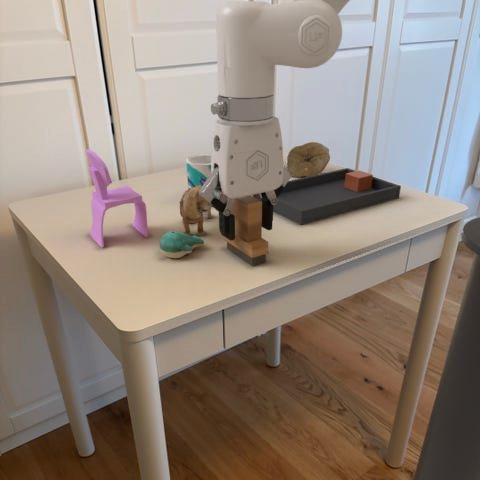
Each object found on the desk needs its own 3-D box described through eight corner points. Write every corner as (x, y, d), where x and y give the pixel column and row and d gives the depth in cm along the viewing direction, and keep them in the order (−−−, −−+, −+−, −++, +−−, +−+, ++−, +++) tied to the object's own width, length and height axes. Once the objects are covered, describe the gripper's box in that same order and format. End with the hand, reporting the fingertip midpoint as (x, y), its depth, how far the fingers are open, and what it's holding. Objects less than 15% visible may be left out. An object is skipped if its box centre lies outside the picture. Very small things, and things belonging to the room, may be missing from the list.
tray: (346, 179, 112) (347, 167, 111) (399, 198, 101) (401, 185, 100) (253, 201, 101) (253, 188, 99) (300, 225, 90) (301, 211, 88)
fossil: (285, 145, 116) (328, 136, 113) (289, 155, 120) (330, 148, 117) (286, 178, 113) (330, 171, 111) (290, 188, 117) (332, 181, 115)
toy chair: (153, 238, 85) (143, 149, 77) (104, 250, 81) (87, 157, 73) (135, 223, 91) (123, 139, 83) (88, 233, 87) (71, 146, 79)
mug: (180, 199, 102) (177, 158, 97) (223, 186, 109) (222, 147, 104) (206, 209, 97) (204, 166, 92) (250, 195, 104) (250, 154, 99)
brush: (268, 262, 77) (269, 203, 72) (252, 267, 76) (252, 207, 71) (240, 244, 83) (239, 188, 78) (225, 248, 81) (223, 192, 76)
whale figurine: (154, 251, 81) (151, 229, 79) (193, 240, 84) (191, 219, 82) (170, 264, 77) (168, 241, 75) (210, 252, 80) (209, 230, 78)
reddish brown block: (371, 188, 105) (373, 174, 103) (357, 192, 103) (359, 178, 101) (357, 184, 107) (359, 170, 106) (344, 187, 106) (345, 173, 104)
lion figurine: (212, 244, 83) (210, 191, 78) (180, 245, 83) (176, 192, 78) (212, 212, 95) (210, 165, 90) (184, 213, 95) (181, 166, 90)
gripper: (204, 121, 61) (210, 254, 70) (313, 106, 68) (305, 228, 78) (176, 111, 66) (186, 236, 76) (280, 98, 74) (277, 213, 84)
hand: (246, 231), depth 77 cm, fingers open, 6 cm apart
